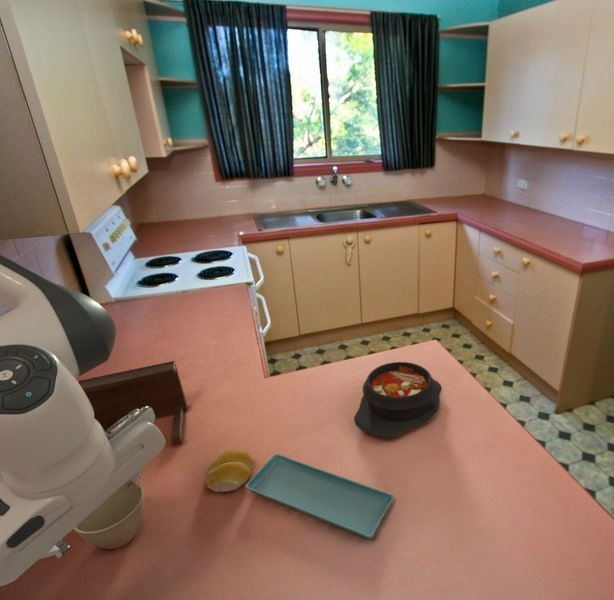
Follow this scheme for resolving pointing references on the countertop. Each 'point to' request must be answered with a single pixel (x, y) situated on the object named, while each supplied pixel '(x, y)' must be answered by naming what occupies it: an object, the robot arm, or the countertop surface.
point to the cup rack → (138, 395)
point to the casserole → (397, 399)
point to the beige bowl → (114, 520)
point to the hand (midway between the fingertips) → (98, 515)
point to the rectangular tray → (321, 495)
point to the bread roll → (229, 471)
